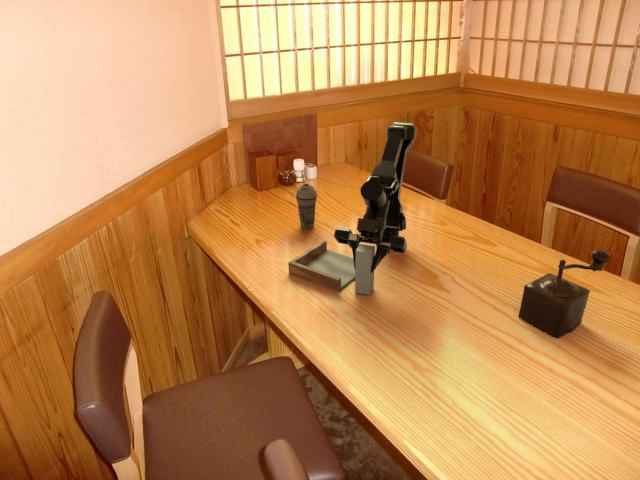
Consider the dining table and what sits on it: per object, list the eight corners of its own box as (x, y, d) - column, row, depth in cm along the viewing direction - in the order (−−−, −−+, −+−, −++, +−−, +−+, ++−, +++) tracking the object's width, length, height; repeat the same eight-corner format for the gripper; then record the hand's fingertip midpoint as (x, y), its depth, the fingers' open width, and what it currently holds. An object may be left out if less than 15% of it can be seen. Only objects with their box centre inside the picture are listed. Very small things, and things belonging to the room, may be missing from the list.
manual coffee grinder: (559, 341, 105) (577, 272, 97) (516, 317, 113) (530, 252, 105) (596, 317, 112) (616, 251, 104) (553, 296, 120) (569, 234, 112)
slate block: (359, 284, 127) (360, 244, 121) (373, 287, 126) (375, 246, 120) (355, 292, 124) (355, 250, 118) (369, 295, 122) (370, 253, 117)
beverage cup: (315, 232, 158) (314, 176, 149) (294, 230, 159) (292, 175, 150) (319, 223, 164) (318, 169, 156) (299, 222, 166) (297, 168, 157)
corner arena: (323, 250, 146) (323, 240, 145) (371, 265, 137) (371, 254, 135) (288, 273, 134) (288, 262, 132) (338, 291, 125) (338, 280, 123)
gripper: (335, 199, 120) (321, 256, 116) (407, 208, 114) (395, 268, 110) (345, 215, 131) (332, 268, 126) (411, 224, 124) (400, 280, 120)
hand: (363, 271), depth 120 cm, fingers closed on slate block, 4 cm apart
